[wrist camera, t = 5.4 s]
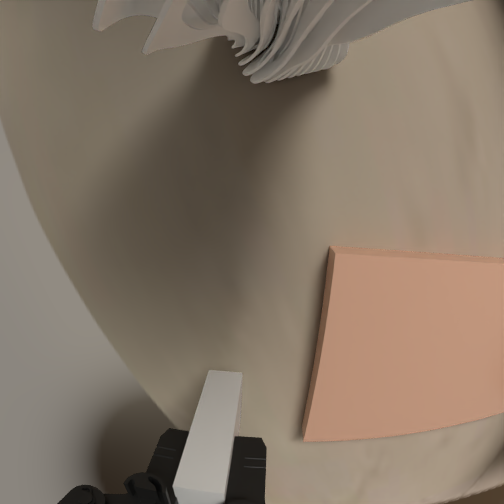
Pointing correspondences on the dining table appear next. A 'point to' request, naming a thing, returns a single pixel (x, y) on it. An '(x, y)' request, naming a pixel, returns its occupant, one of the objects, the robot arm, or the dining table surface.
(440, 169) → the dining table surface
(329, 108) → the dining table surface
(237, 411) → the robot arm
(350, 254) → the tile
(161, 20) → the shell sculpture
